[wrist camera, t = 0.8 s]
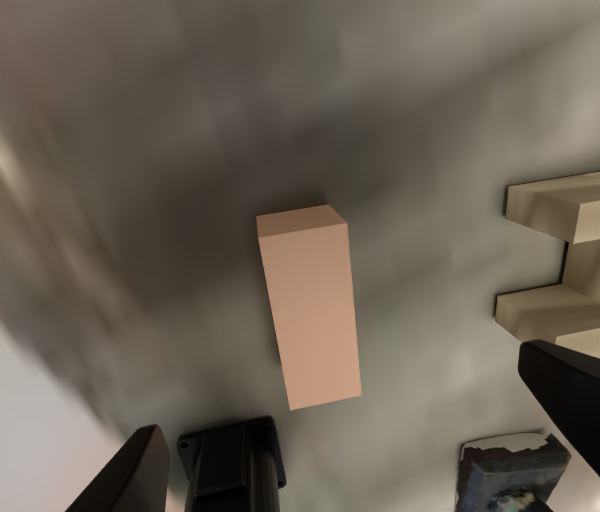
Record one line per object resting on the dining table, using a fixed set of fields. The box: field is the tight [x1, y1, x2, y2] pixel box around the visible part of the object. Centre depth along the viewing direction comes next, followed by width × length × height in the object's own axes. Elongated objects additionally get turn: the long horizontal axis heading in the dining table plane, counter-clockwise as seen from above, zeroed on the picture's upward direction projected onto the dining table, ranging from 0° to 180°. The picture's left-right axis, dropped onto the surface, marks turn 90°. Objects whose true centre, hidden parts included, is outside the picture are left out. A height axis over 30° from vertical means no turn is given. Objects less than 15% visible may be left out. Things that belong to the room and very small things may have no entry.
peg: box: [256, 204, 361, 410], centre depth 19 cm, size 4×10×4 cm, turn 8°
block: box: [495, 172, 600, 357], centre depth 20 cm, size 9×7×5 cm
